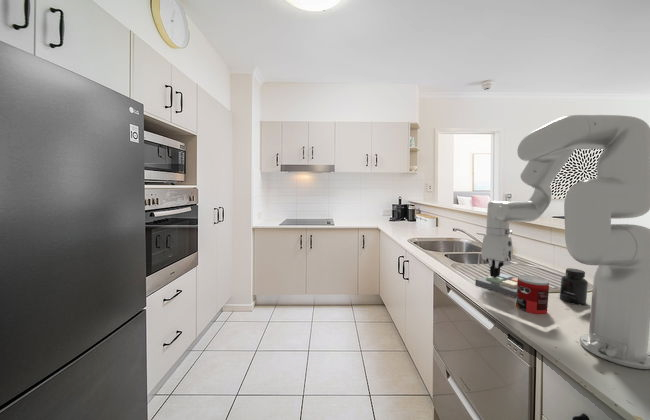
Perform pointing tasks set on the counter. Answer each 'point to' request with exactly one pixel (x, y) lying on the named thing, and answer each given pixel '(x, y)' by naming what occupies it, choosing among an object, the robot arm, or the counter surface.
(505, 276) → the slate key
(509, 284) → the sand key
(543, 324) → the counter surface
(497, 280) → the sage key
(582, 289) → the supplement bottle
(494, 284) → the keypad
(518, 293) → the canned food
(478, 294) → the counter surface
